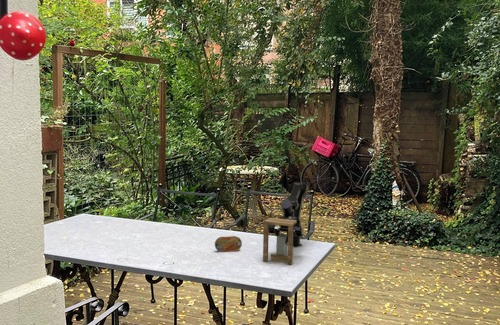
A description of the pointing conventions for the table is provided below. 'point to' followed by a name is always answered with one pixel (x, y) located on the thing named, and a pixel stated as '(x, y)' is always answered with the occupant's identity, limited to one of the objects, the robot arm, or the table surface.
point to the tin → (228, 244)
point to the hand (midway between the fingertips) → (281, 243)
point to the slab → (281, 245)
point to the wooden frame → (290, 240)
